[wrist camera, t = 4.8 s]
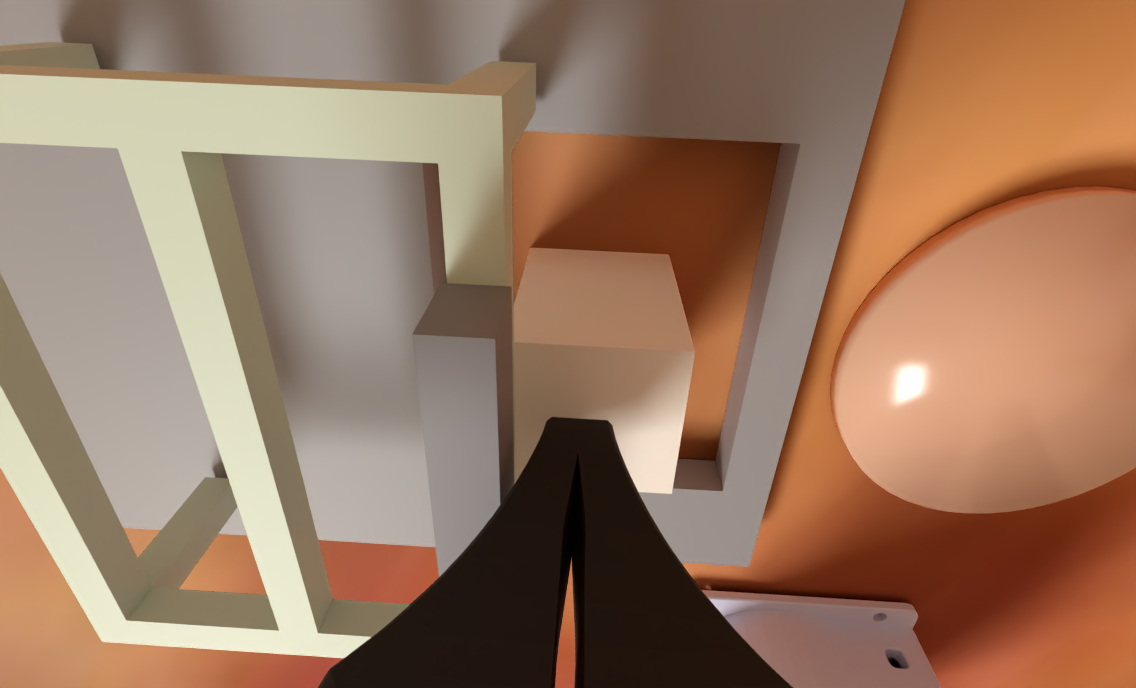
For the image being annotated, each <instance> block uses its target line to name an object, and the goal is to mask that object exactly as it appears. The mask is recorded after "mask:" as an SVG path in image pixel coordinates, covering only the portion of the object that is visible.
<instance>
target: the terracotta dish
mask: <svg viewBox="0 0 1136 688" xmlns="http://www.w3.org/2000/svg"><path fill="white" fill-rule="evenodd" d="M830 398H831V407H832V413H833V417H834V420H835V423H836V427H837V429H838V431H839V433H840V435H841V437H842V439H843V441H844V443H845V445H846V447H847V448H848V450H849V452H850V454H851V456H852V457H853V459H854V460H855V462H856V463H857V464H858V466H859V467H860V468H861V470H862V471H863V472H864V473H865V474H866V475H867V476H868V477H869V478H870V479H872V480H873V481H874V482H875V483H876V484H878V485H879V486H880V487H882V488H883V489H885V490H886V491H888V492H889V493H891V494H893V495H895V496H897V497H899V498H901V499H903V500H905V501H908V502H911V503H914V504H917V505H920V506H923V507H927V508H931V509H936V510H941V511H947V512H956V513H977V514H987V513H1001V512H1011V511H1017V510H1024V509H1030V508H1035V507H1039V506H1043V505H1047V504H1051V503H1055V502H1058V501H1061V500H1064V499H1068V498H1071V497H1074V496H1077V495H1080V494H1082V493H1085V492H1087V491H1089V490H1092V489H1094V488H1097V487H1099V486H1102V485H1104V484H1106V483H1108V482H1110V481H1112V480H1114V479H1116V478H1118V477H1120V476H1122V475H1124V474H1126V473H1127V472H1129V471H1131V470H1132V469H1134V468H1136V191H1135V190H1131V189H1123V188H1114V187H1105V186H1090V187H1069V188H1062V189H1054V190H1047V191H1042V192H1038V193H1034V194H1030V195H1026V196H1022V197H1018V198H1014V199H1011V200H1008V201H1006V202H1003V203H1000V204H997V205H994V206H992V207H989V208H986V209H984V210H982V211H980V212H978V213H975V214H973V215H971V216H969V217H967V218H965V219H963V220H961V221H959V222H957V223H955V224H953V225H952V226H950V227H948V228H947V229H945V230H943V231H942V232H940V233H938V234H937V235H935V236H933V237H932V238H930V239H929V240H928V241H926V242H925V243H923V244H922V245H921V246H919V247H918V248H917V249H915V250H914V251H913V252H911V253H910V254H909V255H907V256H906V257H905V258H904V259H903V260H902V261H901V262H900V263H899V264H897V265H896V266H895V267H894V268H893V269H892V270H891V271H890V272H889V273H888V274H886V276H885V277H884V278H883V279H882V280H881V281H880V282H879V283H878V285H877V286H876V287H875V288H874V289H873V290H872V291H871V292H870V293H869V295H868V296H867V298H866V299H865V300H864V302H863V303H862V305H861V306H860V307H859V309H858V310H857V312H856V313H855V314H854V316H853V318H852V320H851V322H850V324H849V326H848V327H847V329H846V331H845V333H844V335H843V337H842V340H841V342H840V345H839V348H838V350H837V353H836V356H835V360H834V365H833V369H832V374H831V386H830Z"/></svg>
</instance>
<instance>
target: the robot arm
mask: <svg viewBox="0 0 1136 688" xmlns="http://www.w3.org/2000/svg"><path fill="white" fill-rule="evenodd" d="M571 558H572V575H573V598H574V620H575V659H576V665H575V688H942V687H941V685H940V683H939V681H938V679H937V677H936V675H935V673H934V671H933V669H932V667H931V665H930V663H929V661H928V659H927V657H926V655H925V653H924V651H923V649H922V647H921V645H920V643H919V641H918V638H917V636H916V634H915V632H914V630H913V627H914V625H915V623H916V621H917V619H918V614H917V612H916V610H915V608H914V606H913V605H911V604H908V603H900V602H884V601H869V600H853V599H837V598H821V597H806V596H790V595H774V594H759V593H743V592H727V591H711V590H701V589H700V588H699V586H698V585H697V584H696V582H695V581H694V580H693V578H692V577H691V576H690V574H689V573H688V572H687V570H686V569H685V568H684V566H683V565H682V563H681V562H680V560H679V559H678V558H677V556H676V555H675V553H674V552H673V550H672V549H671V547H670V546H669V544H668V543H667V541H666V540H665V538H664V537H663V535H662V533H661V532H660V530H659V528H658V527H657V525H656V523H655V522H654V520H653V518H652V516H651V515H650V513H649V511H648V509H647V508H646V506H645V504H644V502H643V500H642V498H641V496H640V494H639V492H638V490H637V488H636V486H635V484H634V482H633V480H632V478H631V476H630V474H629V471H628V469H627V467H626V465H625V462H624V460H623V457H622V455H621V452H620V450H619V447H618V444H617V441H616V438H615V434H614V430H613V425H612V424H611V423H610V422H609V421H608V420H596V419H579V418H563V417H551V418H550V419H548V420H547V421H546V424H545V427H544V430H543V432H542V435H541V437H540V439H539V442H538V444H537V446H536V448H535V450H534V452H533V453H532V455H531V457H530V459H529V461H528V463H527V464H526V466H525V468H524V469H523V471H522V473H521V474H520V476H519V478H518V479H517V481H516V483H515V484H514V486H513V487H512V489H511V490H510V492H509V493H508V495H507V496H506V498H505V499H504V500H503V502H502V503H501V505H500V506H499V508H498V509H497V510H496V512H495V513H494V515H493V516H492V517H491V519H490V520H489V521H488V522H487V524H486V525H485V526H484V528H483V529H482V530H481V531H480V533H479V534H478V535H477V536H476V537H475V539H474V540H473V541H472V542H471V543H470V544H469V546H468V547H467V548H466V549H465V550H464V551H463V553H462V554H461V555H460V556H459V557H458V558H457V559H456V560H455V561H454V562H453V563H452V564H451V565H450V566H449V567H448V569H447V570H446V571H445V572H444V573H443V574H442V575H441V576H440V577H439V578H438V579H437V580H436V581H435V582H434V583H433V584H432V585H431V586H430V587H429V588H428V589H427V590H426V591H424V592H423V593H422V594H421V595H420V596H419V597H418V598H417V599H416V600H414V601H413V602H412V603H411V604H410V605H409V606H408V607H407V608H406V609H404V610H403V611H402V612H401V613H400V614H399V615H398V616H397V617H395V618H394V619H393V620H392V621H391V622H390V623H389V624H387V625H386V626H385V627H384V628H383V629H381V630H380V631H379V632H378V633H376V634H375V635H374V636H372V637H371V638H370V639H368V640H367V641H366V642H365V643H363V644H362V645H361V646H359V647H358V648H357V649H355V650H354V651H353V652H351V653H350V654H349V655H348V656H346V657H345V658H344V659H342V660H341V661H340V662H338V663H337V664H336V665H334V666H333V667H332V668H330V669H329V671H328V672H327V674H326V675H325V677H324V679H323V680H322V682H321V684H320V685H319V687H318V688H555V678H556V663H557V654H558V645H559V637H560V630H561V624H562V617H563V610H564V604H565V597H566V591H567V584H568V577H569V571H570V564H571Z"/></svg>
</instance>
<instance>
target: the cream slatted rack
mask: <svg viewBox="0 0 1136 688" xmlns="http://www.w3.org/2000/svg"><path fill="white" fill-rule="evenodd" d="M535 112H536V63H528V62H505V61H490V62H488V63H486V64H485V65H483V66H481V67H479V68H477V69H475V70H474V71H472V72H470V73H468V74H466V75H465V76H463V77H461V78H459V79H457V80H456V81H454V82H452V83H450V84H426V83H403V82H380V81H357V80H334V79H311V78H289V77H266V76H243V75H220V74H197V73H174V72H151V71H129V70H106V69H100V67H99V64H98V61H97V58H96V55H95V52H94V49H93V46H92V44H84V43H60V42H42V43H28V44H15V45H2V46H0V143H15V144H36V145H58V146H79V147H100V148H118V151H119V154H120V157H121V160H122V163H123V166H124V169H125V172H126V175H127V178H128V181H129V184H130V187H131V190H132V193H133V196H134V199H135V202H136V205H137V208H138V211H139V214H140V217H141V220H142V223H143V226H144V229H145V232H146V235H147V238H148V241H149V244H150V247H151V250H152V253H153V256H154V259H155V261H156V264H157V267H158V270H159V273H160V276H161V279H162V282H163V285H164V288H165V291H166V294H167V297H168V300H169V303H170V306H171V309H172V312H173V315H174V318H175V321H176V324H177V327H178V330H179V333H180V336H181V339H182V342H183V345H184V348H185V351H186V354H187V357H188V360H189V363H190V366H191V369H192V372H193V375H194V378H195V381H196V384H197V387H198V390H199V393H200V396H201V399H202V402H203V405H204V408H205V411H206V414H207V417H208V420H209V423H210V425H211V428H212V431H213V434H214V437H215V440H216V443H217V446H218V449H219V452H220V455H221V458H222V461H223V464H224V467H225V470H226V473H227V476H228V478H213V477H205V478H204V479H203V480H202V482H201V483H200V484H199V485H198V486H197V488H196V489H195V490H194V491H193V492H192V494H191V495H190V496H189V497H188V498H187V500H186V501H185V502H184V503H183V504H182V506H181V507H180V508H179V509H178V510H177V512H176V513H175V514H174V515H173V516H172V518H171V519H170V520H169V521H168V522H167V524H166V525H165V526H164V527H163V529H162V530H161V531H160V532H159V533H158V535H157V536H156V537H155V538H154V539H153V541H152V542H151V543H150V544H149V545H148V547H147V548H146V549H145V550H144V551H143V553H142V554H141V555H140V556H139V557H138V558H137V556H136V554H135V552H134V550H133V548H132V546H131V544H130V542H129V539H128V537H127V535H126V533H125V531H124V529H123V527H122V525H121V523H120V521H119V519H118V517H117V514H116V512H115V510H114V508H113V506H112V504H111V502H110V500H109V498H108V496H107V494H106V492H105V489H104V487H103V485H102V483H101V481H100V479H99V477H98V475H97V473H96V471H95V469H94V467H93V465H92V462H91V460H90V458H89V456H88V454H87V452H86V450H85V448H84V446H83V444H82V442H81V440H80V437H79V435H78V433H77V431H76V429H75V427H74V425H73V423H72V421H71V419H70V417H69V415H68V412H67V410H66V408H65V406H64V404H63V402H62V400H61V398H60V396H59V394H58V392H57V390H56V387H55V385H54V383H53V381H52V379H51V377H50V375H49V373H48V371H47V369H46V367H45V365H44V362H43V360H42V358H41V356H40V354H39V352H38V350H37V348H36V346H35V344H34V342H33V340H32V338H31V335H30V333H29V331H28V329H27V327H26V325H25V323H24V321H23V319H22V317H21V315H20V313H19V310H18V308H17V306H16V304H15V302H14V300H13V298H12V296H11V294H10V292H9V290H8V288H7V285H6V283H5V281H4V279H3V277H2V275H1V273H0V468H1V470H2V471H3V473H4V475H5V477H6V478H7V480H8V482H9V483H10V485H11V487H12V488H13V490H14V492H15V494H16V495H17V497H18V499H19V500H20V502H21V504H22V506H23V507H24V509H25V511H26V512H27V514H28V516H29V518H30V519H31V521H32V523H33V524H34V526H35V528H36V530H37V531H38V533H39V535H40V536H41V538H42V540H43V542H44V543H45V545H46V547H47V548H48V550H49V552H50V554H51V555H52V557H53V559H54V560H55V562H56V564H57V566H58V567H59V569H60V571H61V572H62V574H63V576H64V577H65V579H66V581H67V583H68V584H69V586H70V588H71V589H72V591H73V593H74V595H75V596H76V598H77V600H78V601H79V603H80V605H81V607H82V608H83V610H84V612H85V613H86V615H87V617H88V619H89V620H90V622H91V624H92V625H93V627H94V629H95V631H96V632H97V634H98V636H99V637H100V639H101V641H102V642H112V643H127V644H142V645H157V646H172V647H186V648H201V649H216V650H231V651H246V652H261V653H276V654H290V655H305V656H320V657H335V658H345V657H346V656H348V655H349V654H350V653H351V652H353V651H354V650H355V649H357V648H358V647H359V646H361V645H362V644H363V643H365V642H366V641H367V640H368V639H370V638H371V637H372V636H374V635H375V634H376V633H378V632H379V631H380V630H381V629H383V628H384V627H385V626H386V625H387V624H389V623H390V622H391V621H392V620H393V619H394V618H395V617H397V616H398V615H399V614H400V613H401V612H402V611H403V610H404V609H406V608H407V607H408V606H409V605H410V604H399V603H383V602H368V601H352V600H337V599H333V597H332V593H331V589H330V585H329V581H328V577H327V573H326V569H325V565H324V561H323V557H322V553H321V549H320V545H319V541H318V537H317V533H316V529H315V525H314V521H313V517H312V513H311V509H310V505H309V501H308V497H307V493H306V489H305V485H304V481H303V477H302V473H301V470H300V466H299V462H298V458H297V454H296V450H295V446H294V442H293V438H292V434H291V430H290V426H289V422H288V418H287V414H286V410H285V406H284V402H283V398H282V394H281V390H280V386H279V382H278V378H277V374H276V370H275V366H274V362H273V358H272V354H271V350H270V346H269V342H268V338H267V334H266V330H265V326H264V323H263V319H262V315H261V311H260V307H259V303H258V299H257V295H256V291H255V287H254V283H253V279H252V275H251V271H250V267H249V263H248V259H247V255H246V251H245V247H244V243H243V239H242V235H241V231H240V227H239V223H238V219H237V215H236V211H235V207H234V203H233V199H232V195H231V191H230V187H229V183H228V180H227V176H226V172H225V168H224V164H223V160H222V156H221V153H228V154H249V155H270V156H292V157H313V158H334V159H355V160H377V161H398V162H419V163H438V168H439V182H440V195H441V209H442V222H443V236H444V249H445V263H446V277H447V283H441V284H440V286H439V288H438V289H437V291H436V293H435V295H434V296H433V298H432V300H431V302H430V303H429V305H428V307H427V309H426V311H425V312H424V314H423V316H422V318H421V319H420V321H419V323H418V325H417V326H416V328H415V330H414V332H413V334H412V339H413V348H414V357H415V366H416V375H417V384H418V393H419V402H420V411H421V420H422V429H423V438H424V447H425V456H426V465H427V474H428V483H429V492H430V501H431V510H432V519H433V528H434V537H435V546H436V555H437V564H438V573H439V577H440V576H441V575H442V574H443V573H444V572H445V571H446V570H447V569H448V567H449V566H450V565H451V564H452V563H453V562H454V561H455V560H456V559H457V558H458V557H459V556H460V555H461V554H462V553H463V551H464V550H465V549H466V548H467V547H468V546H469V544H470V543H471V542H472V541H473V540H474V539H475V537H476V536H477V535H478V534H479V533H480V531H481V530H482V529H483V528H484V526H485V525H486V524H487V522H488V521H489V520H490V519H491V517H492V516H493V515H494V513H495V512H496V510H497V509H498V508H499V506H500V505H501V503H502V502H503V500H504V499H505V498H506V496H507V495H508V493H509V492H510V490H511V489H512V487H513V486H514V484H515V483H516V450H515V370H514V289H513V208H512V151H513V149H514V147H515V146H516V144H517V142H518V141H519V139H520V137H521V135H522V134H523V132H524V130H525V129H526V127H527V125H528V124H529V122H530V120H531V118H532V117H533V115H534V113H535ZM237 507H238V509H239V512H240V515H241V518H242V521H243V524H244V527H245V530H246V533H247V536H248V539H249V542H250V545H251V548H252V551H253V554H254V557H255V560H256V563H257V566H258V569H259V572H260V575H261V578H262V581H263V584H264V587H265V589H266V592H267V595H260V594H245V593H229V592H214V591H199V590H183V589H179V588H180V586H181V585H182V584H183V582H184V581H185V579H186V578H187V577H188V575H189V574H190V572H191V571H192V570H193V568H194V567H195V565H196V564H197V563H198V561H199V560H200V558H201V557H202V556H203V554H204V553H205V551H206V550H207V549H208V547H209V546H210V544H211V543H212V542H213V540H214V539H215V537H216V536H217V535H218V533H219V532H220V531H221V529H222V528H223V526H224V525H225V524H226V522H227V521H228V519H229V518H230V517H231V515H232V514H233V512H234V511H235V510H236V508H237Z"/></svg>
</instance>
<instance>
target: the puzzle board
mask: <svg viewBox="0 0 1136 688" xmlns="http://www.w3.org/2000/svg"><path fill="white" fill-rule="evenodd" d="M905 1H906V0H0V46H2V45H15V44H28V43H42V42H60V43H84V44H92V46H93V49H94V52H95V55H96V58H97V61H98V64H99V67H100V69H106V70H129V71H151V72H174V73H197V74H220V75H243V76H266V77H289V78H311V79H334V80H357V81H380V82H403V83H426V84H450V83H452V82H454V81H456V80H457V79H459V78H461V77H463V76H465V75H466V74H468V73H470V72H472V71H474V70H475V69H477V68H479V67H481V66H483V65H485V64H486V63H488V62H490V61H505V62H528V63H536V112H535V113H534V115H533V117H532V118H531V120H530V122H529V124H528V125H527V127H526V129H525V130H524V131H532V132H554V133H576V134H598V135H620V136H642V137H664V138H686V139H708V140H730V141H752V142H774V143H781V146H780V151H779V156H778V161H777V165H776V170H775V175H774V180H773V185H772V190H771V194H770V199H769V204H768V209H767V214H766V218H765V223H764V228H763V233H762V238H761V243H760V247H759V252H758V257H757V262H756V267H755V272H754V276H753V281H752V286H751V291H750V296H749V300H748V305H747V310H746V315H745V320H744V325H743V329H742V334H741V339H740V344H739V349H738V354H737V358H736V363H735V368H734V373H733V378H732V382H731V387H730V392H729V397H728V402H727V407H726V411H725V416H724V421H723V426H722V431H721V435H720V440H719V445H718V450H717V455H716V460H715V461H712V460H695V459H677V466H676V472H675V478H674V484H673V490H672V494H663V493H646V492H639V494H640V496H641V498H642V500H643V502H644V504H645V506H646V508H647V509H648V511H649V513H650V515H651V516H652V518H653V520H654V522H655V523H656V525H657V527H658V528H659V530H660V532H661V533H662V535H663V537H664V538H665V540H666V541H667V543H668V544H669V546H670V547H671V549H672V550H673V552H674V553H675V555H676V556H677V558H678V559H679V560H680V562H681V563H697V564H713V565H729V566H745V567H749V565H750V561H751V558H752V554H753V550H754V547H755V543H756V540H757V536H758V532H759V529H760V525H761V522H762V518H763V514H764V511H765V507H766V503H767V500H768V496H769V493H770V489H771V485H772V482H773V478H774V475H775V471H776V467H777V464H778V460H779V457H780V453H781V449H782V446H783V442H784V438H785V435H786V431H787V428H788V424H789V420H790V417H791V413H792V410H793V406H794V402H795V399H796V395H797V392H798V388H799V384H800V381H801V377H802V373H803V370H804V366H805V363H806V359H807V355H808V352H809V348H810V345H811V341H812V337H813V334H814V330H815V326H816V323H817V319H818V316H819V312H820V308H821V305H822V301H823V298H824V294H825V290H826V287H827V283H828V280H829V276H830V272H831V269H832V265H833V261H834V258H835V254H836V251H837V247H838V243H839V240H840V236H841V233H842V229H843V225H844V222H845V218H846V215H847V211H848V207H849V204H850V200H851V196H852V193H853V189H854V186H855V182H856V178H857V175H858V171H859V168H860V164H861V160H862V157H863V153H864V149H865V146H866V142H867V139H868V135H869V131H870V128H871V124H872V121H873V117H874V113H875V110H876V106H877V103H878V99H879V95H880V92H881V88H882V84H883V81H884V77H885V74H886V70H887V66H888V63H889V59H890V56H891V52H892V48H893V45H894V41H895V38H896V34H897V30H898V27H899V23H900V19H901V16H902V12H903V9H904V5H905ZM221 156H222V160H223V164H224V168H225V172H226V176H227V180H228V183H229V187H230V191H231V195H232V199H233V203H234V207H235V211H236V215H237V219H238V223H239V227H240V231H241V235H242V239H243V243H244V247H245V251H246V255H247V259H248V263H249V267H250V271H251V275H252V279H253V283H254V287H255V291H256V295H257V299H258V303H259V307H260V311H261V315H262V319H263V323H264V326H265V330H266V334H267V338H268V342H269V346H270V350H271V354H272V358H273V362H274V366H275V370H276V374H277V378H278V382H279V386H280V390H281V394H282V398H283V402H284V406H285V410H286V414H287V418H288V422H289V426H290V430H291V434H292V438H293V442H294V446H295V450H296V454H297V458H298V462H299V466H300V470H301V473H302V477H303V481H304V485H305V489H306V493H307V497H308V501H309V505H310V509H311V513H312V517H313V521H314V525H315V529H316V533H317V537H318V540H330V541H346V542H362V543H378V544H394V545H410V546H426V547H436V546H435V537H434V528H433V519H432V510H431V501H430V492H429V483H428V474H427V465H426V456H425V447H424V438H423V429H422V420H421V411H420V402H419V393H418V384H417V375H416V366H415V357H414V348H413V339H412V334H413V332H414V330H415V328H416V326H417V325H418V323H419V321H420V319H421V318H422V316H423V314H424V312H425V311H426V309H427V307H428V305H429V303H430V302H431V300H432V298H433V296H434V295H435V293H436V291H437V289H438V288H439V286H440V284H441V283H447V279H446V266H445V252H444V239H443V225H442V212H441V198H440V185H439V171H438V163H419V162H398V161H377V160H355V159H334V158H313V157H292V156H270V155H249V154H228V153H221ZM0 273H1V275H2V277H3V279H4V281H5V283H6V285H7V288H8V290H9V292H10V294H11V296H12V298H13V300H14V302H15V304H16V306H17V308H18V310H19V313H20V315H21V317H22V319H23V321H24V323H25V325H26V327H27V329H28V331H29V333H30V335H31V338H32V340H33V342H34V344H35V346H36V348H37V350H38V352H39V354H40V356H41V358H42V360H43V362H44V365H45V367H46V369H47V371H48V373H49V375H50V377H51V379H52V381H53V383H54V385H55V387H56V390H57V392H58V394H59V396H60V398H61V400H62V402H63V404H64V406H65V408H66V410H67V412H68V415H69V417H70V419H71V421H72V423H73V425H74V427H75V429H76V431H77V433H78V435H79V437H80V440H81V442H82V444H83V446H84V448H85V450H86V452H87V454H88V456H89V458H90V460H91V462H92V465H93V467H94V469H95V471H96V473H97V475H98V477H99V479H100V481H101V483H102V485H103V487H104V489H105V492H106V494H107V496H108V498H109V500H110V502H111V504H112V506H113V508H114V510H115V512H116V514H117V517H118V519H119V521H120V523H121V525H122V527H123V528H138V529H154V530H162V529H163V527H164V526H165V525H166V524H167V522H168V521H169V520H170V519H171V518H172V516H173V515H174V514H175V513H176V512H177V510H178V509H179V508H180V507H181V506H182V504H183V503H184V502H185V501H186V500H187V498H188V497H189V496H190V495H191V494H192V492H193V491H194V490H195V489H196V488H197V486H198V485H199V484H200V483H201V482H202V480H203V479H204V478H205V477H213V478H228V476H227V473H226V470H225V467H224V464H223V461H222V458H221V455H220V452H219V449H218V446H217V443H216V440H215V437H214V434H213V431H212V428H211V425H210V423H209V420H208V417H207V414H206V411H205V408H204V405H203V402H202V399H201V396H200V393H199V390H198V387H197V384H196V381H195V378H194V375H193V372H192V369H191V366H190V363H189V360H188V357H187V354H186V351H185V348H184V345H183V342H182V339H181V336H180V333H179V330H178V327H177V324H176V321H175V318H174V315H173V312H172V309H171V306H170V303H169V300H168V297H167V294H166V291H165V288H164V285H163V282H162V279H161V276H160V273H159V270H158V267H157V264H156V261H155V259H154V256H153V253H152V250H151V247H150V244H149V241H148V238H147V235H146V232H145V229H144V226H143V223H142V220H141V217H140V214H139V211H138V208H137V205H136V202H135V199H134V196H133V193H132V190H131V187H130V184H129V181H128V178H127V175H126V172H125V169H124V166H123V163H122V160H121V157H120V154H119V151H118V148H100V147H79V146H58V145H36V144H15V143H0ZM218 534H234V535H247V533H246V530H245V527H244V524H243V521H242V518H241V515H240V512H239V509H238V507H237V508H236V510H235V511H234V512H233V514H232V515H231V517H230V518H229V519H228V521H227V522H226V524H225V525H224V526H223V528H222V529H221V531H220V532H219V533H218Z"/></svg>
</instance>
